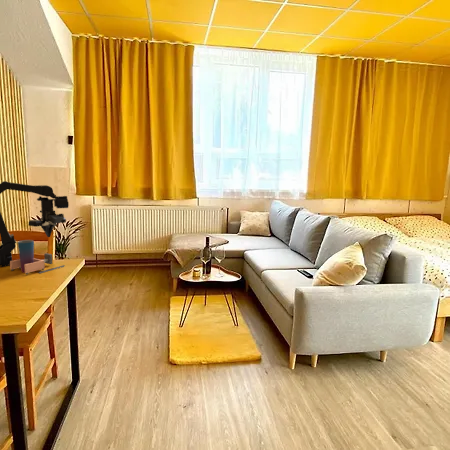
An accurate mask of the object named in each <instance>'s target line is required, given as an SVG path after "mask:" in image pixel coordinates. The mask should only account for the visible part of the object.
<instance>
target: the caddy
mask: <svg viewBox="0 0 450 450" xmlns="http://www.w3.org/2000/svg"><path fill="white" fill-rule="evenodd" d="M45 264H48V265H52V264H53V254H52V253H47V252H45V253H44V259H39V258H35V257H34V263H29V264H25V265H24V267H25V275H29V273H32V272H33V273H34V272H35V271H44V270H45V268H46V266H45ZM9 266H10V267H9V269H10V271H14V270H15V269H21V268H20V267H21V263H20V258H19V259H14V260H13V259H12V261H10V265H9Z"/></svg>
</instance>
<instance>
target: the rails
mask: <svg viewBox="0 0 450 450" xmlns="http://www.w3.org/2000/svg"><path fill="white" fill-rule="evenodd" d="M64 266H65V267H66V265H64V264H63V265H59V266H55V267H51V268H49V269H44V270H39V271H38V272H37V274H43V273H46V272H50V271H54V270H57V268H58V269H61V268H64ZM60 267H61V268H60ZM19 269H21V267H20V268H19Z"/></svg>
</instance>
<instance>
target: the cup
mask: <svg viewBox="0 0 450 450" xmlns="http://www.w3.org/2000/svg"><path fill="white" fill-rule="evenodd" d="M17 248H18V254H19V259H20V263H21V268H20V269H21V272H22V273H23V274H24V273H25V267H24V265H25V264H29V263H34V258H35V257H34V255H35V249H34V248H35V241H34V240H33V239H24V240H22V239H21V240H18V241H17Z"/></svg>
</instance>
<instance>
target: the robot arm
mask: <svg viewBox="0 0 450 450" xmlns="http://www.w3.org/2000/svg"><path fill="white" fill-rule="evenodd" d="M7 190H9V191H10V190H11V191H18V192H25V193H32V194H36V195H39V196H38V198H36V201H38V202H40V205H41V210H39V213H41V217H40V218H39V219H30V220H29V221H28V226H30V227H41V228H42V230H43V232H44V234H45V235H46V237H47V238H50V237H51V234H52V232H53V230H54V228H55V227H56V226H57V225H58V224H64V223H66V222H67V219H66V217H65V215H64V213H56V210H54V207H55V208H56V209H69V206H70V204H69V200H68V196H67V195H61V196H60V195H59V196H58V195H57V194H55V193H54V189H53V188H52V186H50V185H47V184H46V185H45V184H42V185H40V184H39V185H32V184H24V183H17V182H10V181H1V182H0V195H1V194H2V193H4V192H5V191H7ZM49 197H50V198H49ZM0 240H1V244H0V267H2V268H3V267H8V266H10V261H13V256H12V255H13V254H12V251H14V250H15V249H16V244H17V240H16V239H15V235H14V233H12V234H11V233H10V232H9V231H8V228H7V225H6V223H5V221H4V217H3V216H2V213H1V211H0Z"/></svg>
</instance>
